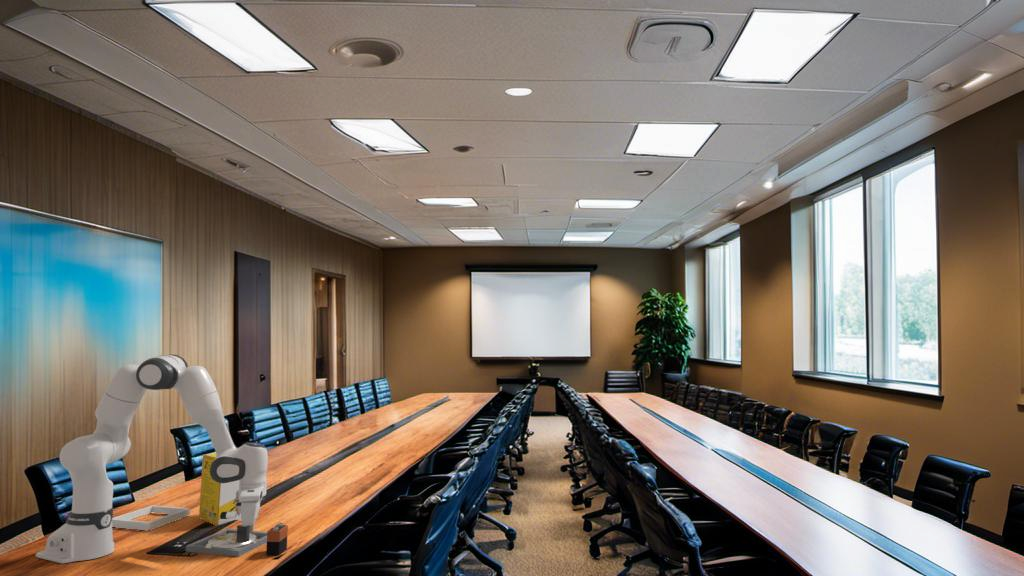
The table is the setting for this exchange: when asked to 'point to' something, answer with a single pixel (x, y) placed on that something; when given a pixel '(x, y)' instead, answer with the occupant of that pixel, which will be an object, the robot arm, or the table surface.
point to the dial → (234, 538)
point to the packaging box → (218, 497)
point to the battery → (277, 540)
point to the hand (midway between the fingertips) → (250, 531)
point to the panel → (209, 548)
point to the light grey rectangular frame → (127, 523)
